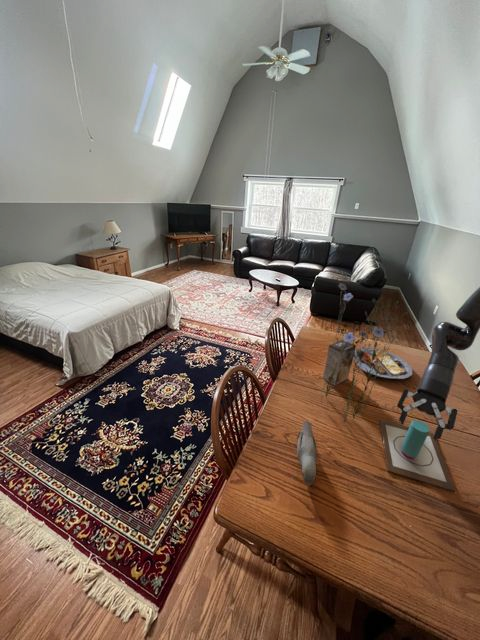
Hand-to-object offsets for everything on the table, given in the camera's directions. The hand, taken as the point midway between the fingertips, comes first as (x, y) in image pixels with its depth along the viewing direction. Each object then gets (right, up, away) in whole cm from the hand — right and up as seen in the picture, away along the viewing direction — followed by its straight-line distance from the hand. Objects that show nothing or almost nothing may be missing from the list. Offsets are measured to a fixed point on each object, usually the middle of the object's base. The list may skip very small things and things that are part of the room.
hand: (417, 431), depth 79 cm
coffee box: (-13, +8, +33) cm, 36 cm away
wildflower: (-17, +1, +16) cm, 24 cm away
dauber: (-3, -7, 0) cm, 7 cm away
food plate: (+11, +12, +43) cm, 46 cm away
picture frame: (-1, -7, +2) cm, 7 cm away
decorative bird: (-34, -7, -3) cm, 35 cm away
